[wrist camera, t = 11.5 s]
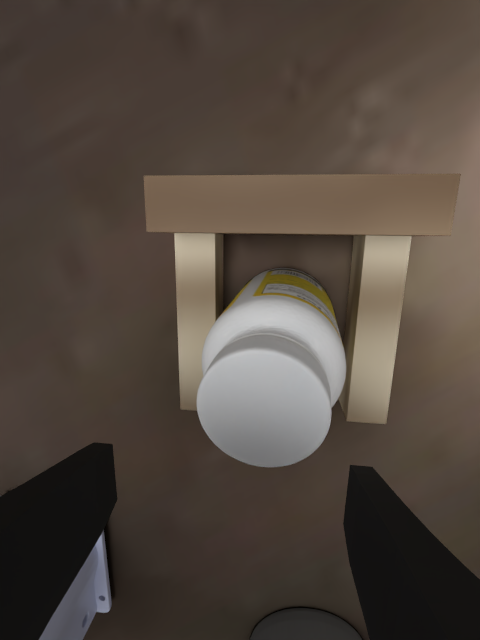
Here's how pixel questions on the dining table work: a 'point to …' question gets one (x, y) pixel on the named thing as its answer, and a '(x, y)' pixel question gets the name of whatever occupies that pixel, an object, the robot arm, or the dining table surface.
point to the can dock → (303, 219)
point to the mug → (303, 626)
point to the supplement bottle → (272, 370)
